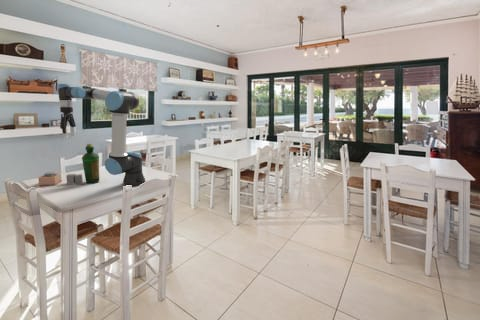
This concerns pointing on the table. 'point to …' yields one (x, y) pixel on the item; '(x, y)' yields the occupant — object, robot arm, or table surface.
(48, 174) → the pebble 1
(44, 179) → the terracotta bin
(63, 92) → the robot arm
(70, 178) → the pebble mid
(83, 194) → the table surface
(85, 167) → the bottle
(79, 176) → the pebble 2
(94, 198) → the table surface
